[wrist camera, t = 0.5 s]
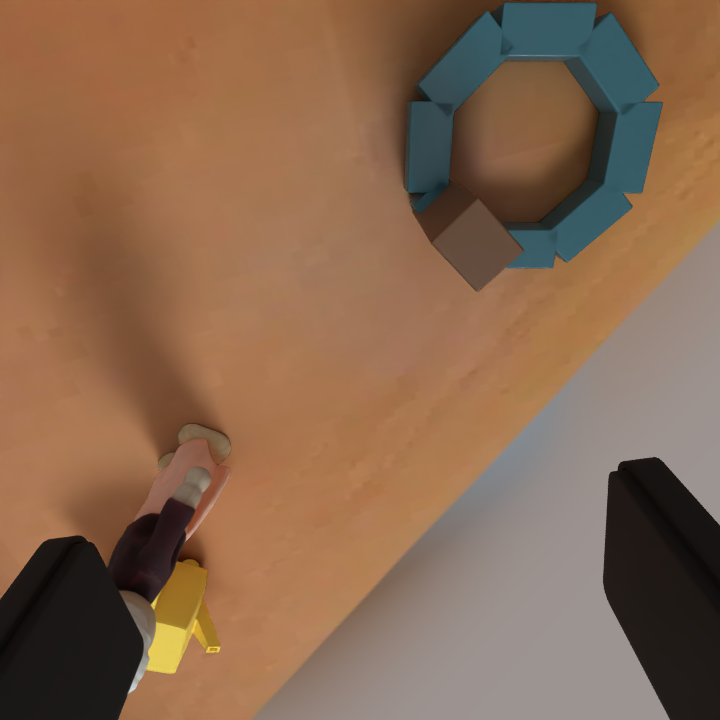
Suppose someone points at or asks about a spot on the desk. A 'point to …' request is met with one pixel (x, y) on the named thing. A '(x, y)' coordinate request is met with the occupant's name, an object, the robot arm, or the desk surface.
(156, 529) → the grandmother figurine
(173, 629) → the teapot
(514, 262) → the teal segmented ring
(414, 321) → the desk surface
